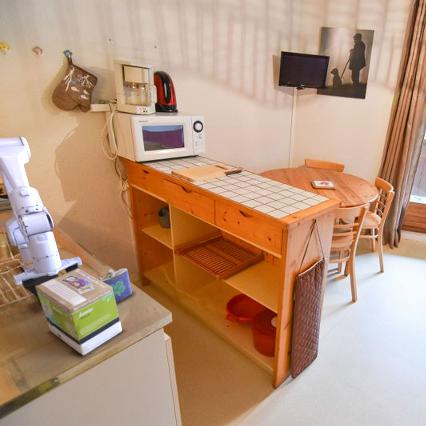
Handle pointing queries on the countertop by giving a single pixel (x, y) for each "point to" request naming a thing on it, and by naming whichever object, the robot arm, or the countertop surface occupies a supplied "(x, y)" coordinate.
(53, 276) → the tongue pad
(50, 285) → the tea box
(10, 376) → the countertop surface
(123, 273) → the flask
